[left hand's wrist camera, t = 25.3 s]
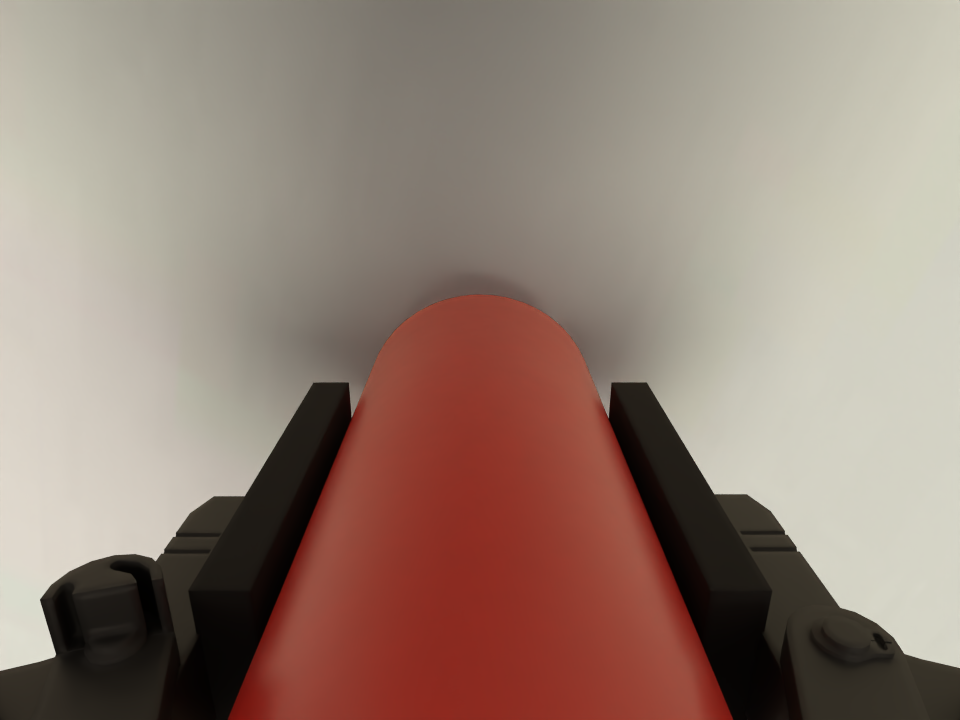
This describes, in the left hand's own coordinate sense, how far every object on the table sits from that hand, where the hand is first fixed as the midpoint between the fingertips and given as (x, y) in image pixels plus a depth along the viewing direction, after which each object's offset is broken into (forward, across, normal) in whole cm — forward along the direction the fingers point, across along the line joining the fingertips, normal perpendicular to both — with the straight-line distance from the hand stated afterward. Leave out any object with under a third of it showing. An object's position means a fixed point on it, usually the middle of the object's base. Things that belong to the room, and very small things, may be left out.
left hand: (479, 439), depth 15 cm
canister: (+2, 0, 0) cm, 2 cm away
